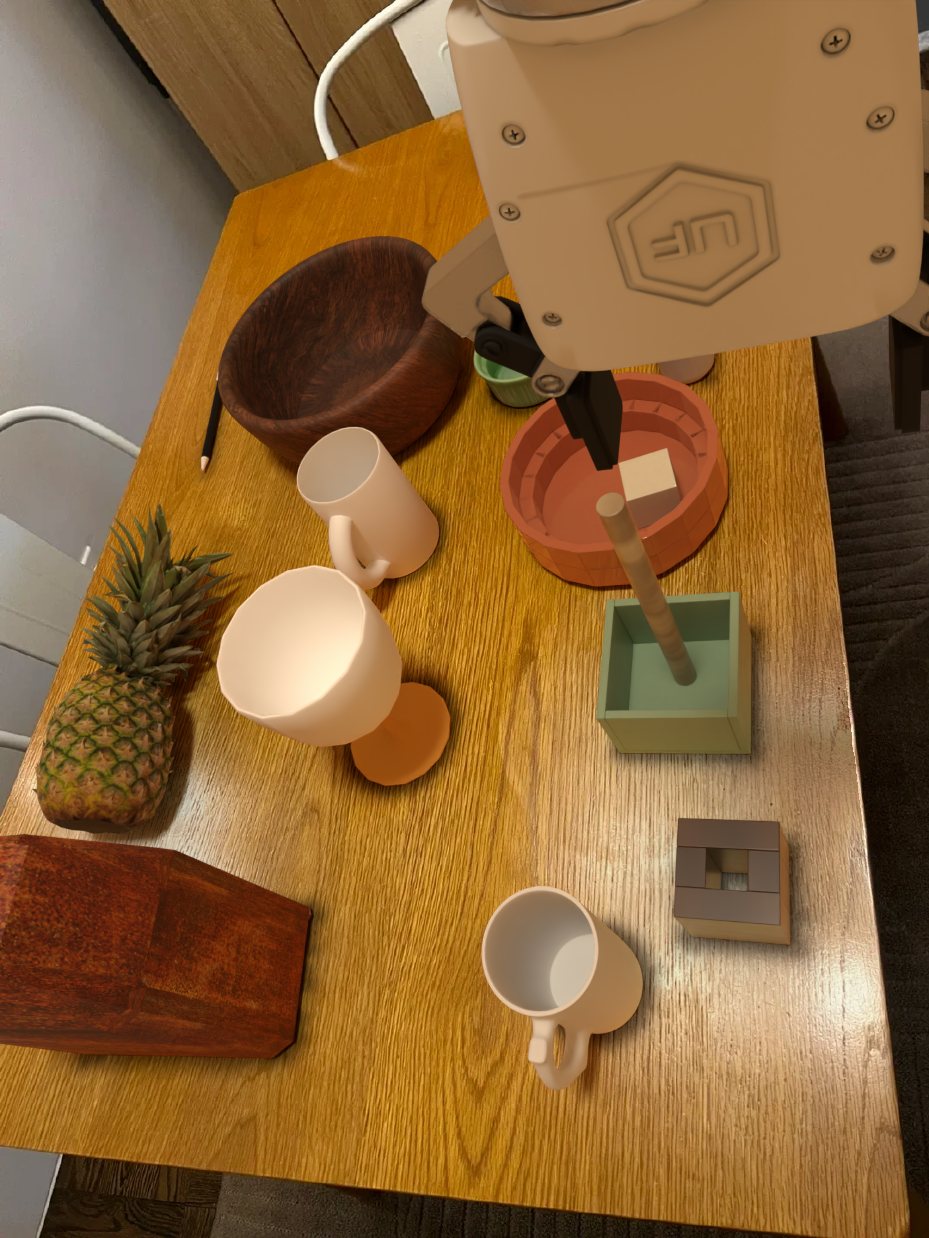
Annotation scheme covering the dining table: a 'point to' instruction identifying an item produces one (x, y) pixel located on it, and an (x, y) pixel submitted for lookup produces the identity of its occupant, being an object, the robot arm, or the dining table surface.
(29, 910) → the wooden coffin
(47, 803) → the fruit
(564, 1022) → the mug
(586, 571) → the bowl
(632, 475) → the block
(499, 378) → the ramekin
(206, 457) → the black pencil
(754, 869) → the holder
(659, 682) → the tub
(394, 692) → the cup
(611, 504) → the stick
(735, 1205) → the dining table surface
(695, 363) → the beverage can
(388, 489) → the mug
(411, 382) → the wooden bowl
